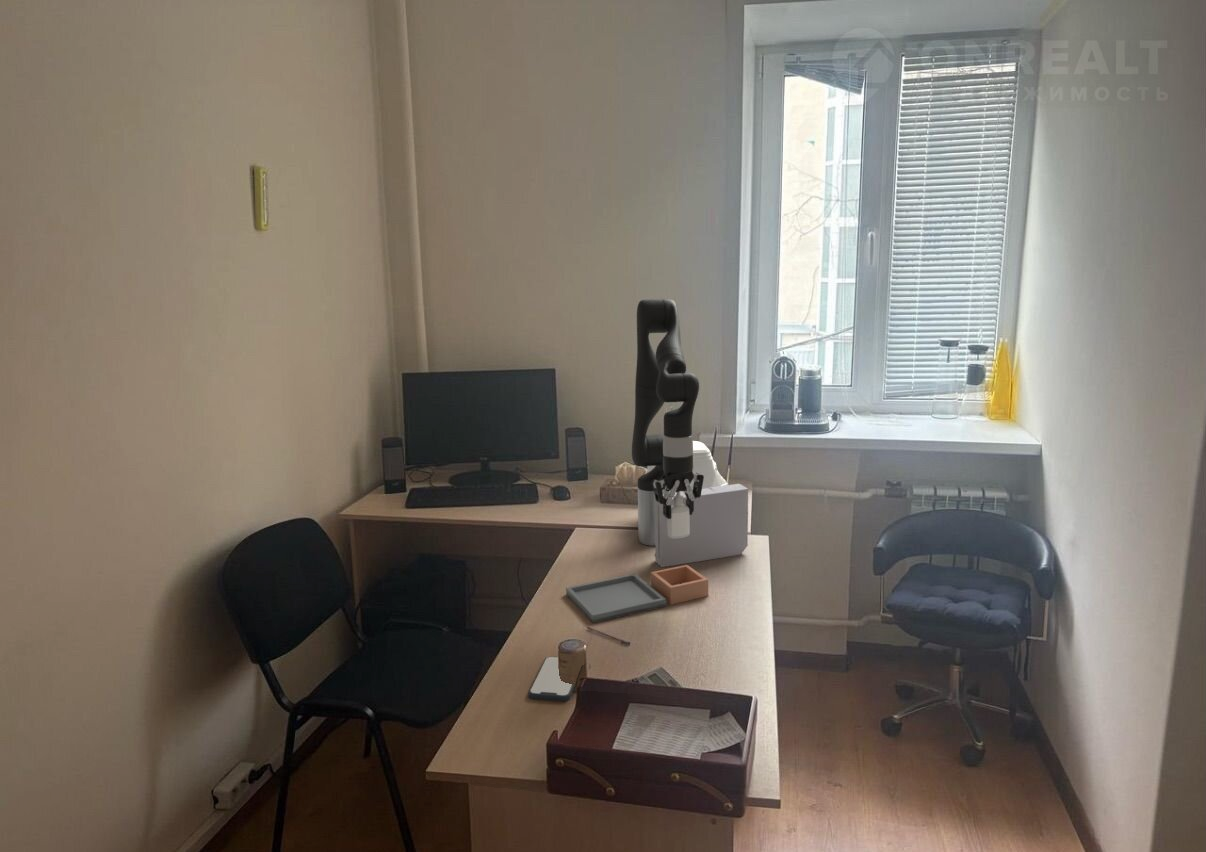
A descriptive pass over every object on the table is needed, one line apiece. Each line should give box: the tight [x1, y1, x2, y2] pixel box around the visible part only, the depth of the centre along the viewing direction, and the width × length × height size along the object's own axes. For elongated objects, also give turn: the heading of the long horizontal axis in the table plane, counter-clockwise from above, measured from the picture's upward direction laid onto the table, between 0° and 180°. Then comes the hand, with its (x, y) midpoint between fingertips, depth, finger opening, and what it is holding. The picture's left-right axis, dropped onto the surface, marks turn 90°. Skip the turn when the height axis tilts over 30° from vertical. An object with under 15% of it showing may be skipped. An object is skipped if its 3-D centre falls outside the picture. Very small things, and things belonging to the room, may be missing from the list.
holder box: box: [650, 564, 709, 605], centre depth 207 cm, size 11×11×4 cm
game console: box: [654, 483, 749, 568], centre depth 228 cm, size 6×27×20 cm, turn 108°
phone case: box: [528, 656, 575, 703], centre depth 167 cm, size 9×2×16 cm
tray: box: [565, 573, 667, 624], centre depth 204 cm, size 18×20×2 cm
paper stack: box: [646, 440, 729, 493], centre depth 257 cm, size 21×27×26 cm
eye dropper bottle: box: [667, 491, 690, 539], centre depth 203 cm, size 4×6×12 cm
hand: (678, 515), depth 203 cm, fingers closed on eye dropper bottle, 5 cm apart
